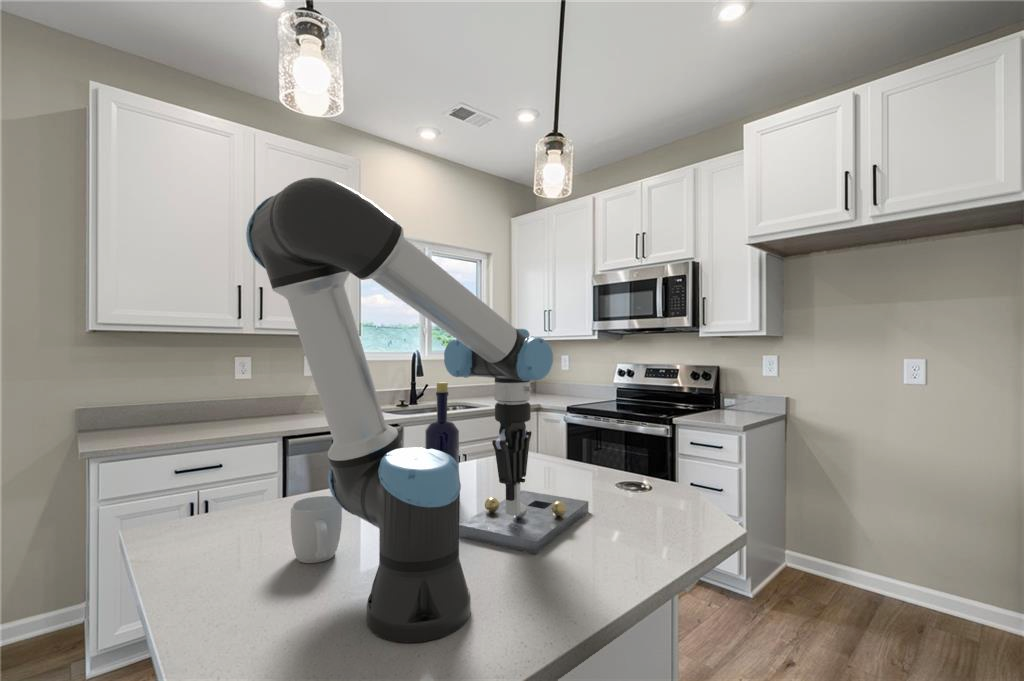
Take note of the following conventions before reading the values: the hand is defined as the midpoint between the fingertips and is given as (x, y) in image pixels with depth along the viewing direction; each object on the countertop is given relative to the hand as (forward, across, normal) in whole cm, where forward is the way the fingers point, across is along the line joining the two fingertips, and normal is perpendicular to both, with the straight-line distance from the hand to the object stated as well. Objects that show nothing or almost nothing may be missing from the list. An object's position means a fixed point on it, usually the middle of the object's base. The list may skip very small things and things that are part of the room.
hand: (513, 514), depth 105 cm
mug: (+4, -29, +25) cm, 38 cm away
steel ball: (0, +3, 0) cm, 3 cm away
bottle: (+5, +11, +27) cm, 30 cm away
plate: (+4, +7, 0) cm, 8 cm away
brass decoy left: (0, +3, +7) cm, 8 cm away
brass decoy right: (0, +8, -7) cm, 11 cm away
